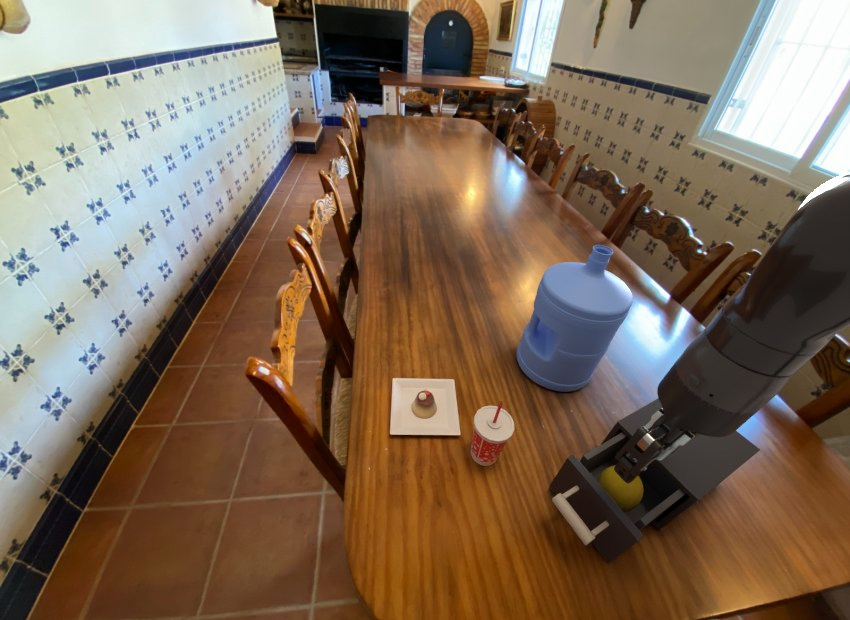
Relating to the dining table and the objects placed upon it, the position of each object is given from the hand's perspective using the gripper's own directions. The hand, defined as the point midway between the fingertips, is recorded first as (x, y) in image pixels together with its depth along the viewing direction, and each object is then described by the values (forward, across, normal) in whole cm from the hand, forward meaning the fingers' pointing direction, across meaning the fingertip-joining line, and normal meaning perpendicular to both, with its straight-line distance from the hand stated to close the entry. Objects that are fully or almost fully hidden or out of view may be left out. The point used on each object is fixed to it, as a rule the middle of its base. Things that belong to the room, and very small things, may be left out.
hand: (644, 460), depth 45 cm
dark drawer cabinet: (+14, +12, 0) cm, 19 cm away
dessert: (+14, -16, +27) cm, 35 cm away
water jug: (+14, +14, +25) cm, 32 cm away
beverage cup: (+14, -12, +15) cm, 24 cm away
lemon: (+12, 0, 0) cm, 12 cm away
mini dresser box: (+13, -1, 0) cm, 13 cm away
